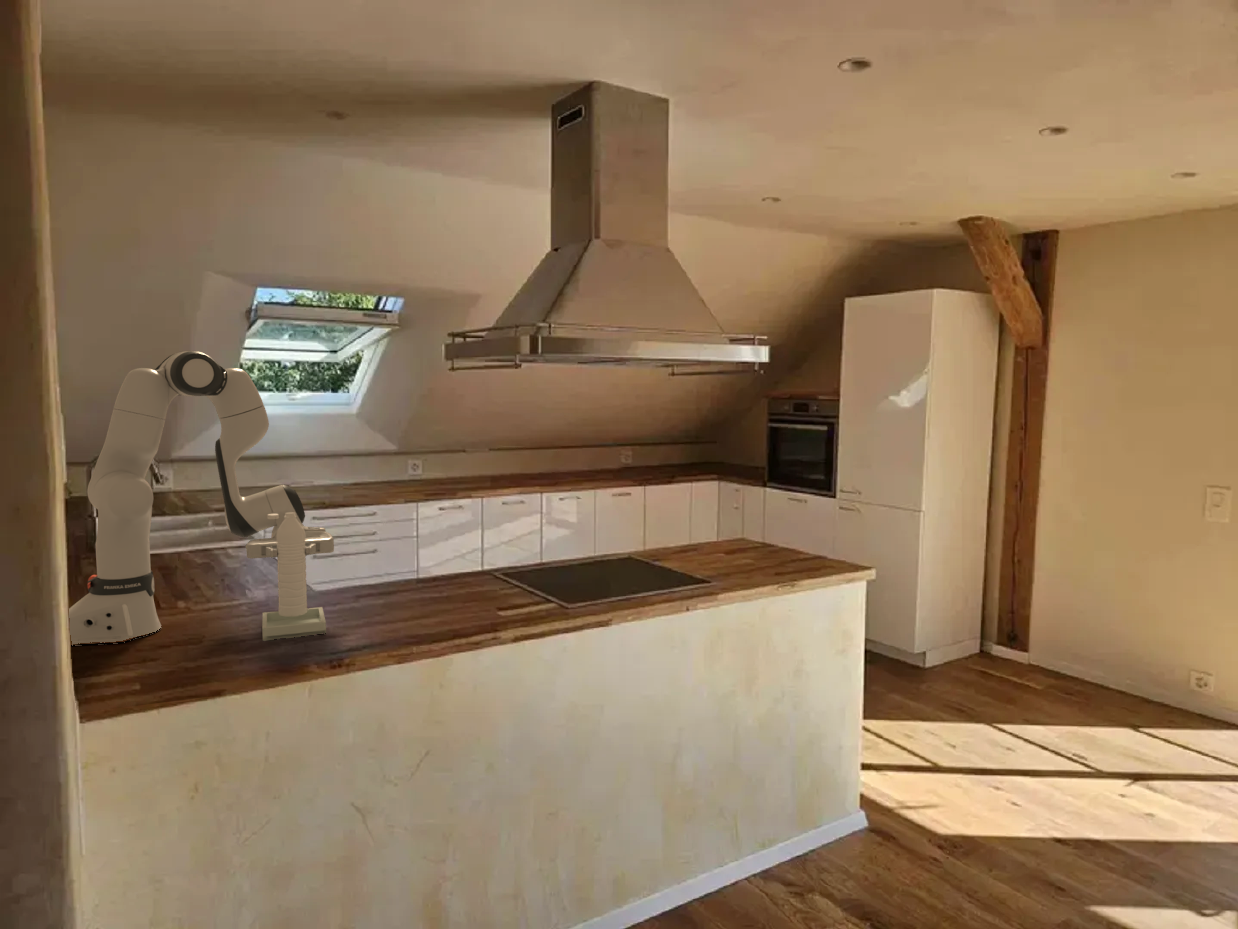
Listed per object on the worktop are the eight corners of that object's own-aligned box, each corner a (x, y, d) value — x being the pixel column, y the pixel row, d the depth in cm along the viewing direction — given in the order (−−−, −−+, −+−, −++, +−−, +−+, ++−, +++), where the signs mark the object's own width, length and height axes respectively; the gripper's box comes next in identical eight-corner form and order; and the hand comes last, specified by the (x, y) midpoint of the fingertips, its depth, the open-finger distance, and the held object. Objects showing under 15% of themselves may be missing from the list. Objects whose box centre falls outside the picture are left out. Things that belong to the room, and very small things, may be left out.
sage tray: (262, 641, 196) (262, 628, 196) (263, 624, 209) (262, 612, 209) (326, 634, 201) (325, 622, 201) (322, 618, 214) (322, 607, 214)
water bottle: (299, 607, 210) (296, 509, 207) (312, 613, 205) (309, 512, 203) (265, 615, 203) (261, 513, 200) (277, 620, 199) (274, 516, 196)
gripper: (245, 532, 211) (243, 543, 198) (331, 527, 219) (335, 536, 206) (246, 557, 211) (245, 569, 199) (331, 550, 219) (335, 562, 207)
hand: (291, 552), depth 202 cm, fingers closed on water bottle, 6 cm apart
